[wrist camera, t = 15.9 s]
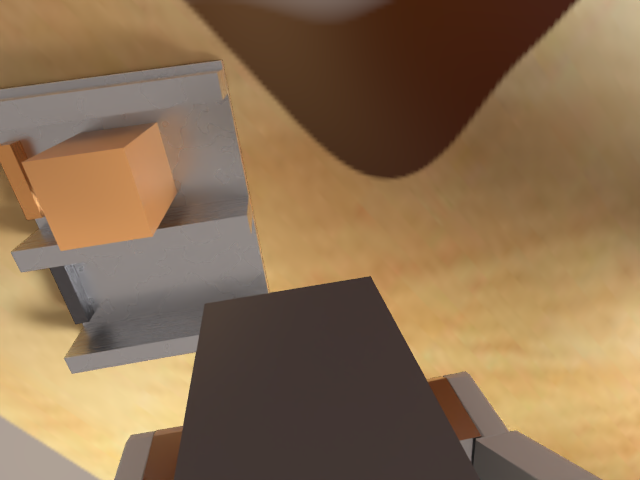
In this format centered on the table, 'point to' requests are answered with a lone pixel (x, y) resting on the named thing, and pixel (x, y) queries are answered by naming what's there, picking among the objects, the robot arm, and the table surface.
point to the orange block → (103, 185)
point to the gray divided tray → (172, 233)
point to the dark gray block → (312, 393)
